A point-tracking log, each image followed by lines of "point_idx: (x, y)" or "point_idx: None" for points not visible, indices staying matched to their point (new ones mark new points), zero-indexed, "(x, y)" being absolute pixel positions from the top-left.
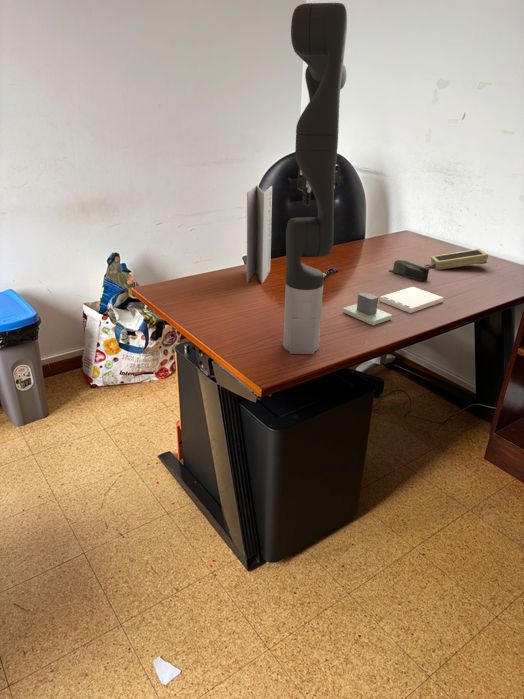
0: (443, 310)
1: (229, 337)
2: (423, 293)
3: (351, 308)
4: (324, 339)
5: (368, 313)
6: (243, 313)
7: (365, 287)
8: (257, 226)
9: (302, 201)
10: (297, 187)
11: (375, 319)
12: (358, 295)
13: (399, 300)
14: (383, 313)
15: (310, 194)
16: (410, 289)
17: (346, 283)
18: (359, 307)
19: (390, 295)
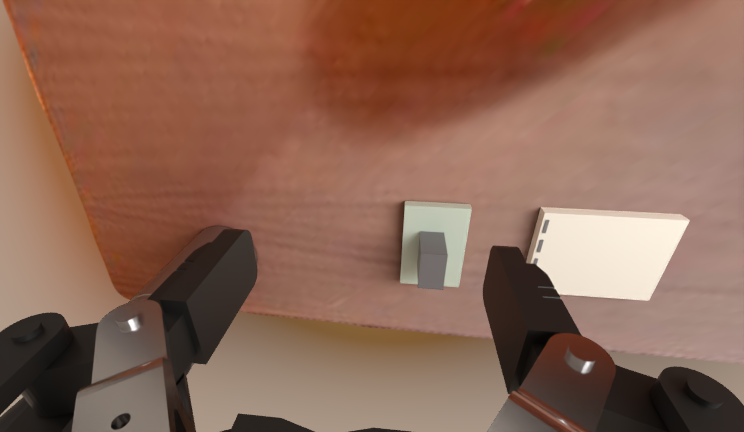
0: (586, 314)
1: (113, 146)
2: (647, 262)
3: (418, 218)
4: (281, 258)
5: (417, 263)
6: (186, 50)
7: (622, 114)
8: None
9: (192, 252)
10: (1, 342)
11: (410, 280)
12: (421, 252)
13: (552, 254)
14: (451, 273)
15: (210, 350)
16: (658, 229)
17: (619, 44)
18: (419, 243)
19: (572, 223)
